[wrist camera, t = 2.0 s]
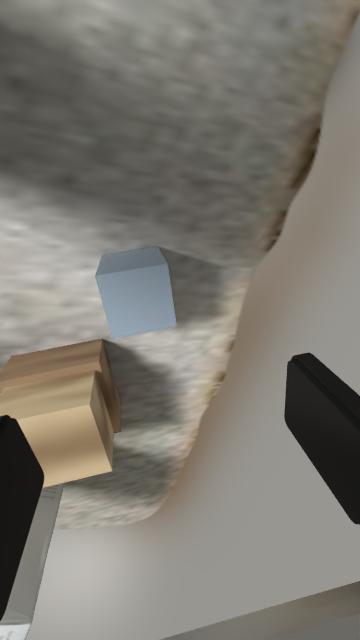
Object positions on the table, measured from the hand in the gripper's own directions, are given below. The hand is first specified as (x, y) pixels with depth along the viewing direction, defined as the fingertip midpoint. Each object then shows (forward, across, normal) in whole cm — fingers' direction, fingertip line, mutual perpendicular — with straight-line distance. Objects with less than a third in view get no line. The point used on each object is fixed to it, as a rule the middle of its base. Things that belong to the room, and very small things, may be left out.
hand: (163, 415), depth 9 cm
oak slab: (+12, +9, +9) cm, 17 cm away
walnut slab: (+16, +9, +8) cm, 20 cm away
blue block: (+16, +1, -1) cm, 16 cm away
